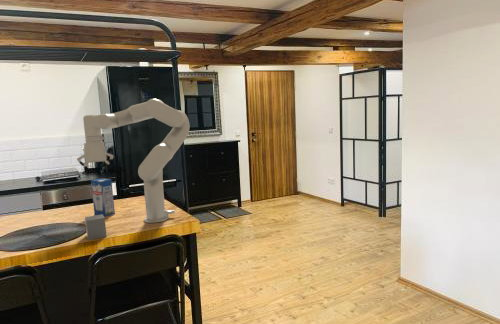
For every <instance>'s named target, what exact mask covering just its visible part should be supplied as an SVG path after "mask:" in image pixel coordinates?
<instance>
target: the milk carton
mask: <svg viewBox="0 0 500 324" xmlns="http://www.w3.org/2000/svg"><path fill="white" fill-rule="evenodd" d="M112 183H113V181H112V179H110V178H109V179H108V178H96V179H91V180H90V187H91V193H92V204H93V205H92V206H93V214H94V216H95V215H101V214H103V216H104V218H107V217H110V216H113V215H115V214H116V212H115V202H114V193H113V184H112Z"/></svg>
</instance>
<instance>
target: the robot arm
mask: <svg viewBox="0 0 500 324" xmlns="http://www.w3.org/2000/svg"><path fill="white" fill-rule="evenodd" d="M82 119H83V120H82V122H83V128H84V129H83V130H84V138H85V142H84V143H83V154H82V155H81V156H78V157H77V158H76V160H77V162H78V163H79V165H81V166H82V167H83V171H84V174H85V175H86V176H87V175H89V172H88V164H91V163H99V162H105V172H106V173H109V171H110V164H111V163H112V161H113V159H114V157H115V156H114V154H111V153H109V152H107V151H106V147H105V143H104V141H103V140H105V139H106V137H105V136H102V130H108V129H109V130H111V129H115V128H119V127H123V126H127V125H131V124H135V123H136V124H137V123H139V122H142V121H146V120H151V119H155V120H156V121H159V122H161V123H164V125H167V126H169V127H171V130H170V132H168V133H167V135H166V136H165V138H164V139H163V140H162V141H161V142H160V143H159V144H157V145H155V146H154V147H153V148H152V149H151V150H150V151H149V153H148V155H147V156H145V158H144V159H143V161H142V162H141V163H140V164H139V166H138V170H137V174H138V176H139V178H140V179H141V181H142V180H143V189H144V190H143V191H144V203H145V212H146V217H144V218H143V221H144V223H147V224H149V223H150V224H153V223H154V224H155V223H162V222H165V221H167V220H169V218H170V217H169V215H172V214H175V213H176V212H175V210H174V209H169V210H167V209H166V205H165V195H164V194H165V193H164V180H163V179H164V178H163V175H164V174H163V171H164V170H163V169H164V168H165V166H167V164H168V163H169V161H171V160H172V159H173V157H174V155H175V154H176V153H177V151H179V148H180V147H181V146H182V145H183V143H184V142H185V140H186V139H187V137H188V135H189V132H190V127H191V126H190V121H189V118H188V116H187V114H186V113H185V112H184V111H183V110H180V109H179V110H178V109H176V108H174V107H171V106H169V105H168V104H166V103H164V102H163V101H162V100H161V99H157V98H150V99H149V100H147V101H145V102H141V103H137V104H132V105H130V106H129V107H128V108H125V109H124V110H121V111H116V112H113V113H101V114H88V115H87V114H86V115H84V116H83V118H82ZM107 156H108V157H109V159H108V158H107ZM83 159H84V161H85V162H82V160H83ZM107 159H108V160H107Z"/></svg>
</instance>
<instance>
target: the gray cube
mask: <svg viewBox="0 0 500 324" xmlns="http://www.w3.org/2000/svg"><path fill="white" fill-rule="evenodd" d="M105 218H106V217H104V216H103V214H101V215H95V214H94V215H89V216H85V217H84V221H85V231H86V237H87V240H88V241H89V240H91V241H92V240H95V239H101V238H106V237H107V227H106V226H107V225H106V219H105Z"/></svg>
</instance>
